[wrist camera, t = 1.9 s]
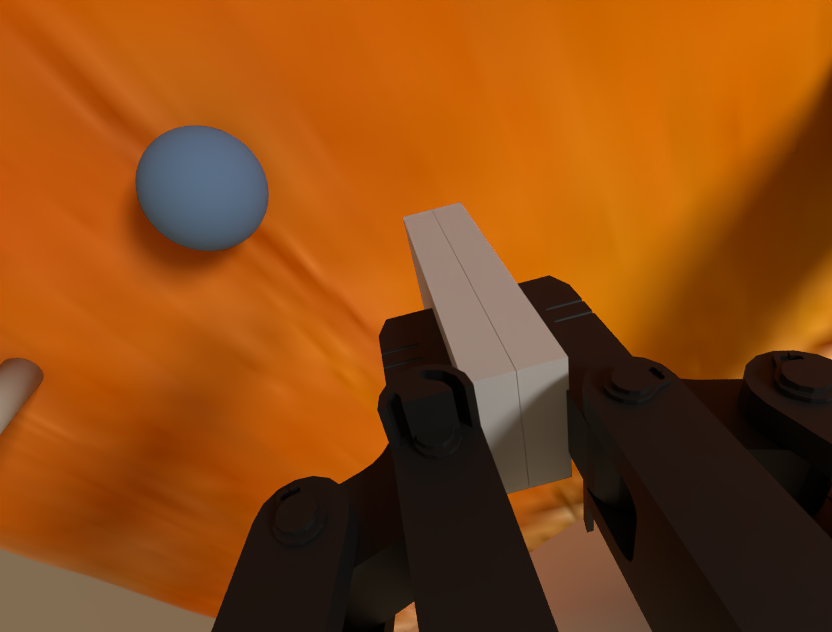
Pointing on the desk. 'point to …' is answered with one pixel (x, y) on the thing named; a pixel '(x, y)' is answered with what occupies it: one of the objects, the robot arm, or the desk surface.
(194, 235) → the ball
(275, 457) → the desk surface
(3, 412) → the sage pin
